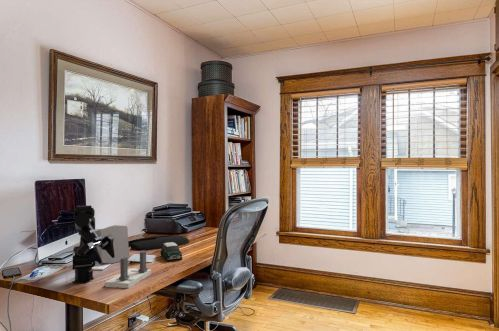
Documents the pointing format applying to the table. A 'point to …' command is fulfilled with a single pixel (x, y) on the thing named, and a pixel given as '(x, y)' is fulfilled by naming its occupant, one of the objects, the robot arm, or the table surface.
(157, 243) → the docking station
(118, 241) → the electrical switch box
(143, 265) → the on breaker
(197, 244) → the table surface
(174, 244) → the miniature car
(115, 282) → the breaker panel
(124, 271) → the lever
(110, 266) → the table surface
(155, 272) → the table surface
